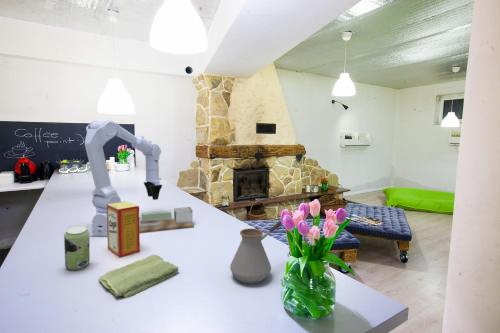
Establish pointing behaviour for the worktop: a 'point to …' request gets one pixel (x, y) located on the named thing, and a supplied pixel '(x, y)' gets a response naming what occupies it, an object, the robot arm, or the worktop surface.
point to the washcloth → (138, 276)
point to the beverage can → (76, 247)
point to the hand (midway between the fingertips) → (153, 197)
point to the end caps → (180, 217)
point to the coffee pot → (251, 257)
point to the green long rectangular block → (156, 215)
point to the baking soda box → (123, 228)
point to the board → (166, 226)
